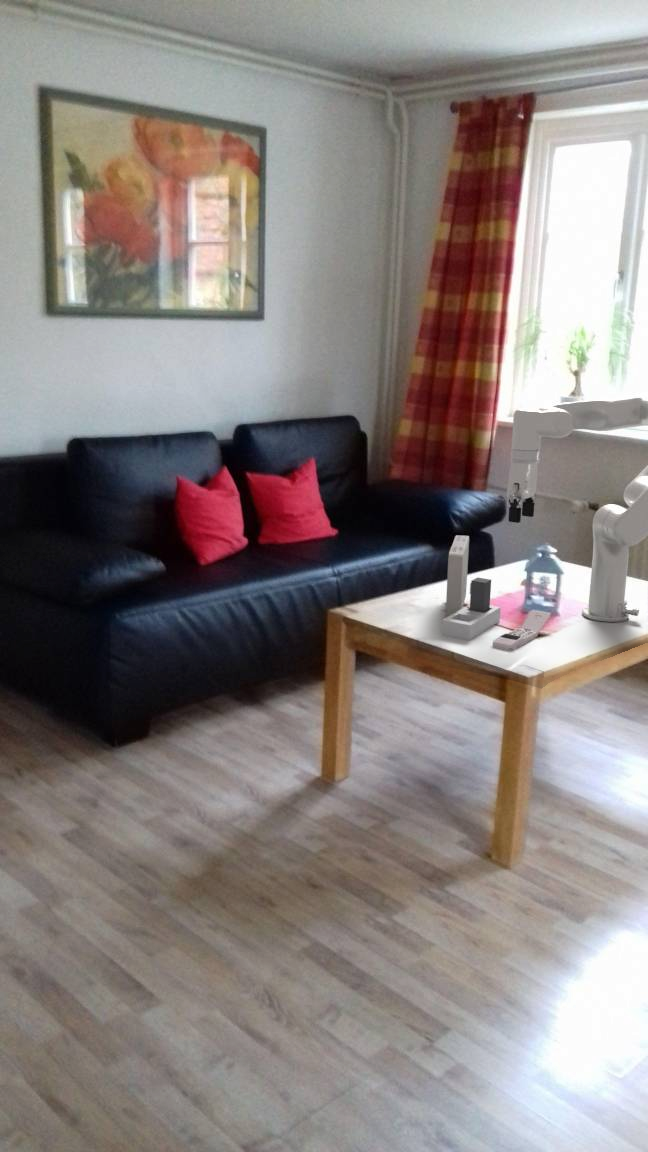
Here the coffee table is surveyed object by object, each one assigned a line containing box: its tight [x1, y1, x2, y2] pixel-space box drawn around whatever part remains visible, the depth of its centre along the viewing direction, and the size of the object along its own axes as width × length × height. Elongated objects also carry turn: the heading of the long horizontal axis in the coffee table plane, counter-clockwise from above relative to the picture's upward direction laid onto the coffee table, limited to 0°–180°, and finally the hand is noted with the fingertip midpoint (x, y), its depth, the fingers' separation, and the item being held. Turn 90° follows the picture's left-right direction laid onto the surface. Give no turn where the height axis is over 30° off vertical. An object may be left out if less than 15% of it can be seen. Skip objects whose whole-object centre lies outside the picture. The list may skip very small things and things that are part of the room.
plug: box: [469, 577, 492, 613], centre depth 274 cm, size 5×4×12 cm
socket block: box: [440, 603, 502, 641], centre depth 271 cm, size 8×20×5 cm, turn 148°
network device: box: [441, 535, 470, 618], centre depth 286 cm, size 26×9×20 cm, turn 168°
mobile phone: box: [492, 609, 552, 651], centre depth 263 cm, size 6×6×25 cm
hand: (521, 519), depth 276 cm, fingers open, 9 cm apart
